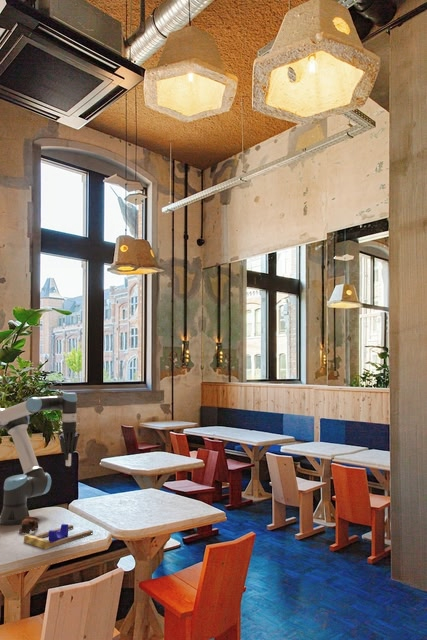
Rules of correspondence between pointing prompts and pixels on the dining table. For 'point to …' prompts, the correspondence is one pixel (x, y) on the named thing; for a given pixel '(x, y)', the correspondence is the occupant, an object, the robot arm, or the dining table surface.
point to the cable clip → (58, 533)
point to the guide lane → (47, 544)
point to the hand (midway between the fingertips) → (68, 465)
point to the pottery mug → (29, 524)
